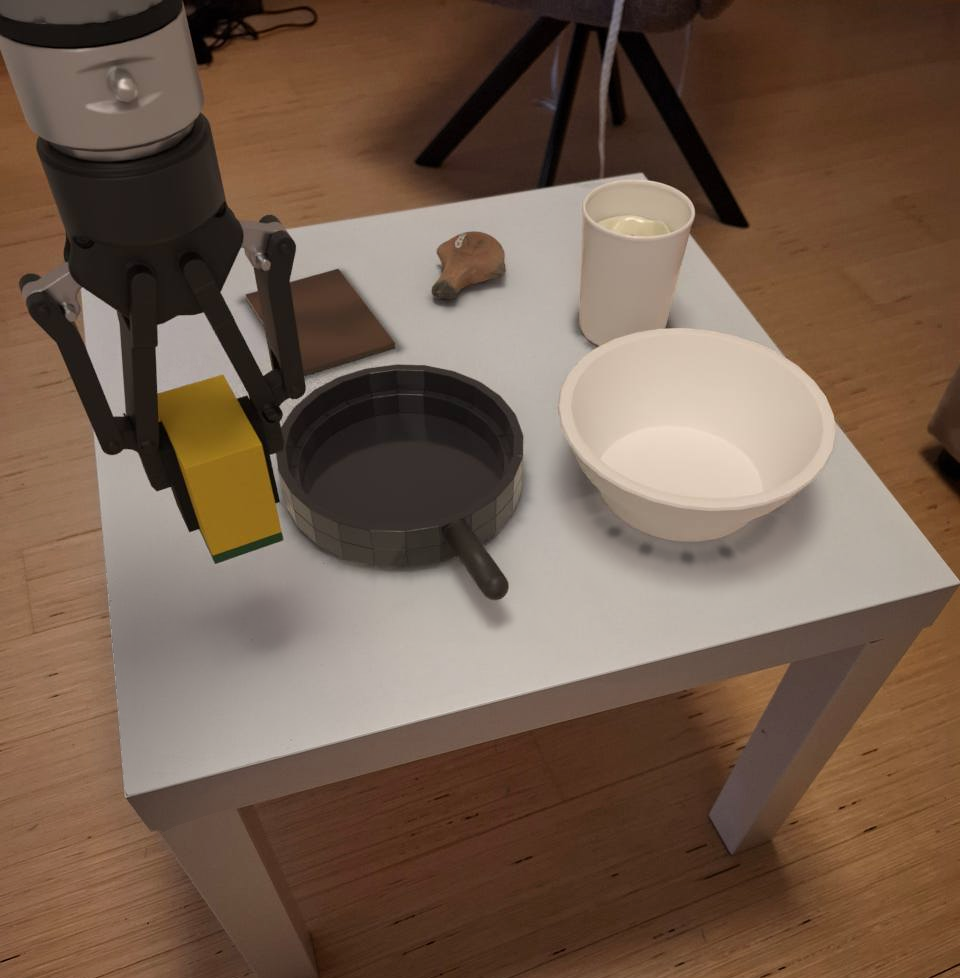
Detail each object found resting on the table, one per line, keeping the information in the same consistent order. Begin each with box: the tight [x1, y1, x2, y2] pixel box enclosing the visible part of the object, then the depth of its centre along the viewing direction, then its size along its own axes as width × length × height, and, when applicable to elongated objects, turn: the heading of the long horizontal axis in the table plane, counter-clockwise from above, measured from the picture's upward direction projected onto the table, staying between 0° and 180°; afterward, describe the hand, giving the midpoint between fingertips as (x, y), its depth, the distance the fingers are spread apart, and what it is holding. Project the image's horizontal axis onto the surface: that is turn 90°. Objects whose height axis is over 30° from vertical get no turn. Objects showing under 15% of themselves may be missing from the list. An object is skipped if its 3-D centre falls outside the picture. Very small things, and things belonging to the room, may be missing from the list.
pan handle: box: [444, 520, 510, 601], centre depth 69 cm, size 8×2×2 cm, turn 28°
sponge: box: [157, 374, 284, 565], centre depth 58 cm, size 7×4×8 cm, turn 27°
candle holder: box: [578, 178, 696, 347], centre depth 87 cm, size 10×10×12 cm
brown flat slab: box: [245, 268, 396, 377], centre depth 91 cm, size 14×10×1 cm
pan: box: [275, 363, 524, 568], centre depth 77 cm, size 20×20×4 cm
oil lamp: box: [431, 230, 507, 300], centre depth 95 cm, size 9×4×8 cm
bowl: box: [557, 327, 837, 543], centre depth 75 cm, size 21×21×8 cm
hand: (228, 502), depth 60 cm, fingers closed on sponge, 4 cm apart
